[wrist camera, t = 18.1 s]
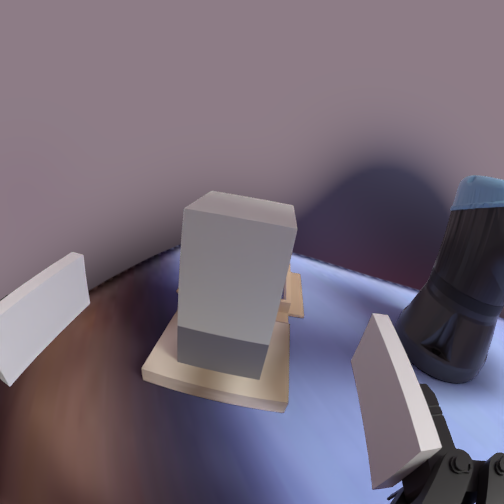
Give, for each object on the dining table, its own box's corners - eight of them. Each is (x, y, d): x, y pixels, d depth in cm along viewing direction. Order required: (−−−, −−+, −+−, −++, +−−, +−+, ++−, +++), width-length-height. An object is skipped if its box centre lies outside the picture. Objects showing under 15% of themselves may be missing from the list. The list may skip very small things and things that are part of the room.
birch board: (286, 334, 30) (289, 324, 29) (283, 412, 20) (288, 402, 19) (182, 312, 31) (182, 301, 30) (143, 380, 20) (141, 368, 20)
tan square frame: (299, 270, 47) (301, 260, 46) (303, 327, 32) (307, 315, 31) (205, 252, 48) (206, 242, 47) (171, 300, 32) (171, 287, 32)
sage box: (265, 330, 28) (293, 205, 23) (259, 380, 21) (297, 229, 16) (198, 316, 28) (211, 190, 23) (177, 361, 22) (184, 208, 17)
